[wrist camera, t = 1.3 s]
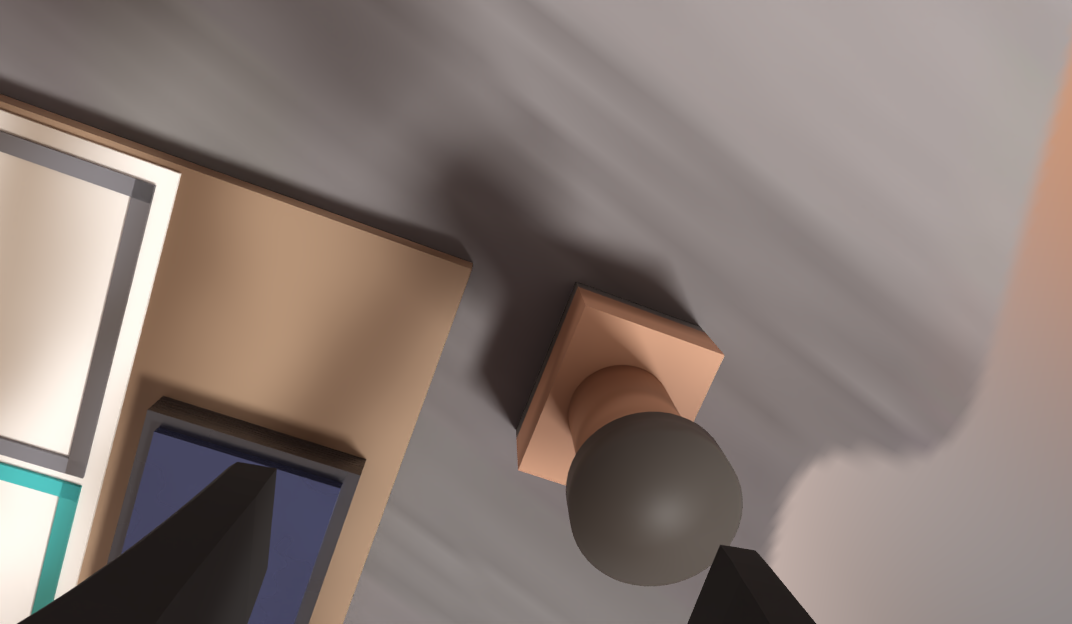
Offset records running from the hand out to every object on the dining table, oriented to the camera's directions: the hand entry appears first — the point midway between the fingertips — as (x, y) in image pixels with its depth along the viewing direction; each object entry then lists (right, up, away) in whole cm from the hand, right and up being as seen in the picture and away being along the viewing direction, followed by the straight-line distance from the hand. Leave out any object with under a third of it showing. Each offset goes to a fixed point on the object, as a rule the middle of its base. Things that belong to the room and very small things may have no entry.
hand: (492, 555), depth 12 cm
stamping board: (-13, -1, +11) cm, 17 cm away
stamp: (+3, +2, +11) cm, 11 cm away
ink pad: (-8, -3, +11) cm, 14 cm away
